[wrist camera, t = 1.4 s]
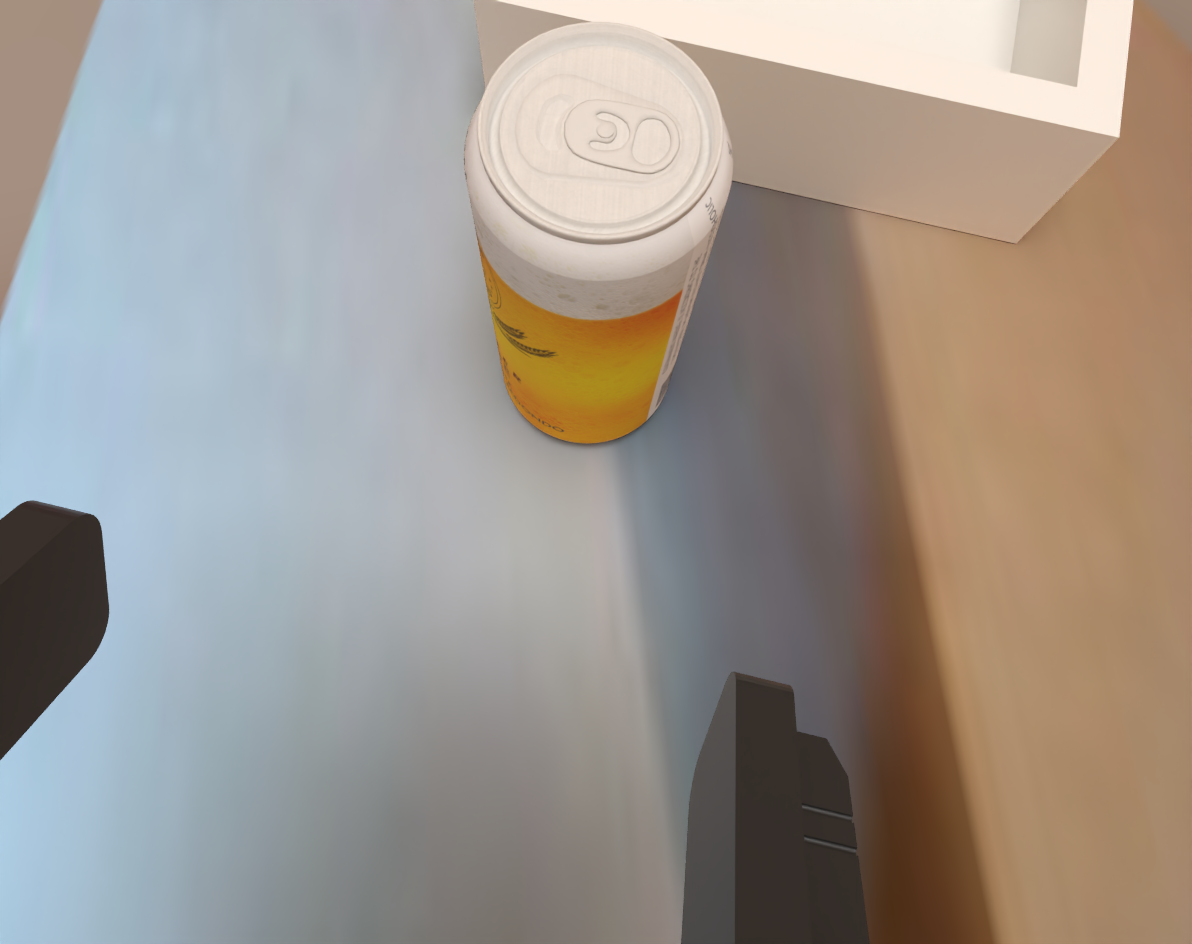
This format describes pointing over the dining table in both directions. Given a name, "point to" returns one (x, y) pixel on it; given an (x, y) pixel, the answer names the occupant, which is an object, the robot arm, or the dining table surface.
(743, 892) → the robot arm
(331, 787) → the dining table surface
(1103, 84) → the white rectangular tray
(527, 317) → the beer can
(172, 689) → the dining table surface
